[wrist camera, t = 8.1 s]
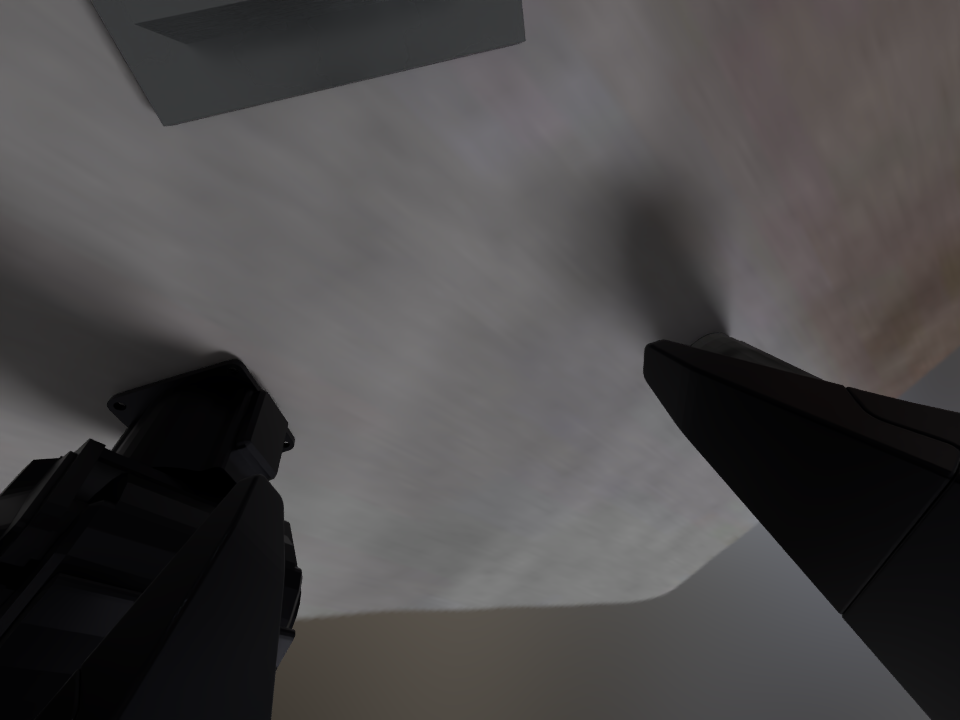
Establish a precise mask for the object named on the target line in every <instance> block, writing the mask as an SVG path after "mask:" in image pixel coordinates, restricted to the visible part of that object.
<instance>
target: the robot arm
mask: <svg viewBox="0 0 960 720" xmlns="http://www.w3.org/2000/svg"><path fill="white" fill-rule="evenodd" d="M229 368H235V369H237V370H238V372H233V371H231V370H230V369H229ZM643 374H644V378H645V380H646V382H647V383H648V385H649V386H650V388H651V389H652V390H653V392H654V393H655V395H656V396H657V398H658V399H659V400H660V402H661V403H662V405H663V406H664V408H665V409H666V411H667V412H668V413H669V415H670V416H671V418H672V419H673V421H674V422H675V423H676V425H677V426H678V428H679V429H680V430H681V431H682V433H683V434H684V435H685V436H686V437H687V439H688V440H689V441H690V442H691V443H692V444H693V446H694V447H695V448H696V449H697V450H698V451H699V453H700V454H701V455H702V456H703V457H704V458H705V459H706V461H707V462H708V463H709V464H710V465H711V466H712V467H713V469H714V470H715V471H716V472H717V473H718V474H719V476H720V477H721V478H722V479H723V480H724V481H725V482H726V484H727V485H728V486H729V487H730V488H731V489H732V491H733V492H734V493H735V494H736V495H737V496H738V497H739V499H740V500H741V501H742V502H743V503H744V504H745V505H746V507H747V508H748V509H749V510H750V511H751V512H752V514H753V515H754V516H755V517H756V518H757V519H758V520H759V522H760V523H761V524H762V525H763V526H764V527H765V529H766V530H767V531H768V532H769V533H770V534H771V535H772V536H773V538H774V539H775V540H776V541H777V542H778V543H779V545H780V546H781V547H782V548H783V549H784V550H785V552H786V553H787V554H788V555H789V556H790V557H791V558H792V559H793V561H794V562H795V563H796V564H797V565H798V566H799V567H800V569H801V570H802V571H803V572H804V573H805V574H806V576H807V577H808V578H809V579H810V580H811V581H812V583H813V584H814V585H815V586H816V587H817V588H818V590H819V591H820V592H821V593H822V594H823V595H824V596H825V598H826V599H827V600H828V601H829V602H830V603H831V605H832V606H833V607H834V608H835V609H836V610H837V611H838V613H840V614H842V618H843V619H844V620H845V621H846V622H847V623H848V624H849V626H850V627H851V628H852V629H853V630H854V631H855V633H856V634H857V635H858V636H859V637H860V638H861V639H862V641H863V642H864V643H865V644H866V645H867V646H868V647H869V649H870V650H871V651H872V652H873V653H874V654H875V656H876V657H877V658H878V659H879V660H880V661H881V663H883V665H884V666H885V667H886V668H887V669H888V670H889V672H890V673H891V674H892V675H893V676H894V677H895V678H896V680H897V681H898V682H899V683H900V684H901V685H902V687H903V688H904V689H905V690H906V691H907V692H908V693H909V695H910V696H911V697H912V698H913V699H914V700H915V701H916V703H917V704H918V705H919V706H920V707H921V708H922V710H923V711H924V712H925V713H926V714H927V715H928V716H929V718H930V719H931V720H960V413H958V412H954V411H949V410H944V409H940V408H935V407H930V406H926V405H921V404H916V403H912V402H908V401H904V400H899V399H895V398H891V397H887V396H883V395H879V394H875V393H871V392H867V391H863V390H859V389H855V388H852V387H846V388H845V387H844V386H843V385H840V384H836V383H832V382H828V381H824V380H820V379H816V378H812V377H808V376H804V375H801V374H797V373H793V372H789V371H785V370H781V369H777V368H773V367H769V366H766V365H762V364H758V363H754V362H750V361H746V360H742V359H738V358H734V357H730V356H727V355H723V354H719V353H715V352H711V351H707V350H703V349H699V348H695V347H691V346H688V345H684V344H680V343H676V342H672V341H668V340H658V341H655V342H652V343H649V344H648V345H646V347H645V350H644V366H643ZM118 402H121V403H123V404H125V406H124V405H121V404H119V403H118ZM107 407H108V408H109V410H110V411H111V412H112V413H113V414H114V415H115V416H116V417H117V418H118V419H119V420H120V421H121V422H123V423H124V424H125V425H126V426H127V427H128V428H127V429H126V431H125V432H124V434H123V435H122V436H121V438H120V439H119V440H118V442H117V443H116V445H115V446H114V447H113V449H112V450H108V449H106V448H105V446H106V445H104V444H102V443H100V442H97V441H95V440H93V439H89V440H87V441H86V442H85V443H84V444H83V445H82V446H81V447H80V448H79V449H78V450H77V451H75V452H72V451H70V452H68V453H67V454H66V455H65V456H64V457H63V456H61V457H60V458H53V459H39V460H33V461H32V462H31V463H29V464H28V465H27V466H26V467H25V468H24V469H23V470H22V471H21V472H20V473H19V474H18V476H17V477H16V478H15V479H14V480H13V481H12V482H11V483H10V484H9V485H8V486H7V487H6V488H5V489H4V491H3V492H2V493H1V494H0V720H271V714H272V703H273V693H274V682H275V673H276V670H277V667H278V666H279V664H280V662H281V660H282V658H283V657H284V655H285V653H286V652H287V650H288V648H289V646H290V644H291V643H292V641H293V639H294V637H295V630H294V629H292V627H293V624H294V622H295V619H296V616H297V613H298V609H299V605H300V597H301V584H302V570H301V569H300V568H298V566H297V561H296V555H295V550H294V544H293V539H292V533H291V527H290V523H289V522H287V521H284V505H283V500H282V498H281V496H280V494H279V493H278V492H277V491H276V490H275V488H274V487H273V486H272V485H271V483H270V482H269V480H272V479H274V478H275V476H276V475H277V472H278V468H279V463H280V459H281V454H282V452H285V451H288V450H291V449H292V448H293V447H294V443H295V438H294V436H293V435H292V433H291V432H290V430H289V429H288V422H287V420H286V419H285V417H284V416H283V414H282V413H281V411H280V410H279V409H278V407H277V406H276V404H275V403H274V401H273V400H272V398H271V397H270V395H269V394H268V392H266V391H264V390H262V389H261V388H260V387H259V385H258V384H257V382H256V381H255V379H254V378H253V376H252V375H251V373H250V372H249V371H248V369H247V368H246V366H245V365H244V364H243V363H242V362H241V361H239V360H234V359H233V360H228V361H224V362H221V363H218V364H215V365H211V366H208V367H205V368H201V369H198V370H195V371H191V372H188V373H185V374H181V375H178V376H175V377H171V378H168V379H165V380H161V381H158V382H155V383H151V384H148V385H145V386H142V387H138V388H135V389H132V390H128V391H125V392H122V393H118V394H116V395H114V396H113V397H112V398H111V399H110V400H109V401H108V403H107ZM284 441H286V442H288V443H284Z"/></svg>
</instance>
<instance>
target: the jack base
mask: <svg viewBox="0 0 960 720" xmlns="http://www.w3.org/2000/svg"><path fill="white" fill-rule="evenodd" d="M91 2H92V4H93V5H94V7H95V9H96V11H97V12H98V14H99V16H100V17H101V19H102V21H103V23H104V24H105V26H106V28H107V30H108V31H109V33H110V35H111V36H112V38H113V40H114V42H115V43H116V45H117V47H118V49H119V50H120V52H121V54H122V55H123V57H124V59H125V61H126V62H127V64H128V66H129V68H130V69H131V71H132V73H133V74H134V76H135V78H136V80H137V81H138V83H139V85H140V86H141V88H142V90H143V92H144V93H145V95H146V97H147V99H148V100H149V102H150V104H151V105H152V107H153V109H154V111H155V112H156V114H157V116H158V118H159V119H160V121H161V123H162V124H163V126H173V125H177V124H181V123H185V122H190V121H194V120H198V119H202V118H207V117H211V116H215V115H219V114H223V113H228V112H232V111H236V110H240V109H245V108H249V107H253V106H257V105H262V104H266V103H270V102H274V101H279V100H283V99H287V98H291V97H295V96H300V95H304V94H308V93H312V92H317V91H321V90H325V89H329V88H334V87H338V86H342V85H346V84H350V83H355V82H359V81H363V80H367V79H372V78H376V77H380V76H384V75H389V74H393V73H397V72H401V71H406V70H410V69H414V68H418V67H422V66H427V65H431V64H435V63H439V62H444V61H448V60H452V59H456V58H461V57H465V56H469V55H473V54H477V53H482V52H486V51H490V50H494V49H499V48H503V47H507V46H511V45H516V44H519V43H522V42H524V41H526V39H525V29H524V19H523V9H522V0H91Z"/></svg>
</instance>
